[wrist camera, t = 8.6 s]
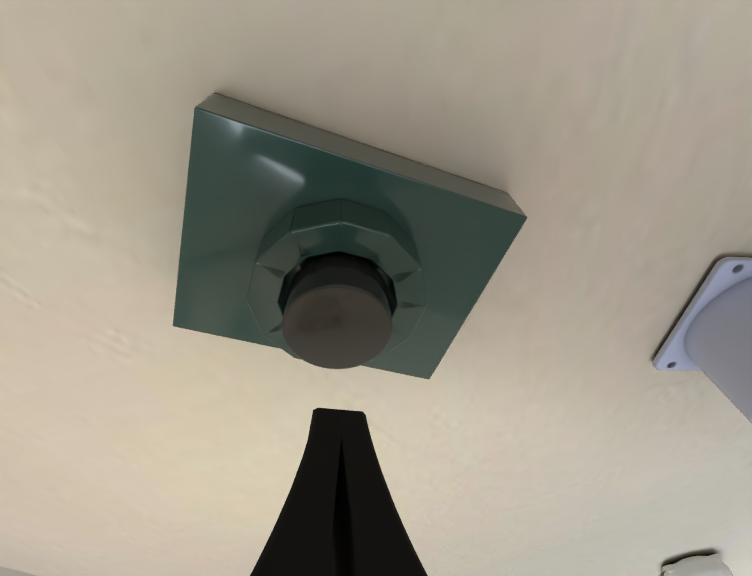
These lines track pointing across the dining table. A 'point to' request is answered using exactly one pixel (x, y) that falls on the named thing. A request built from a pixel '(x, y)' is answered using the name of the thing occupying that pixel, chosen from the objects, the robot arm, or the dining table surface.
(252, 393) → the dining table surface
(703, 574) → the chubby white toad
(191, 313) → the green push button box
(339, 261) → the dark grey push button
